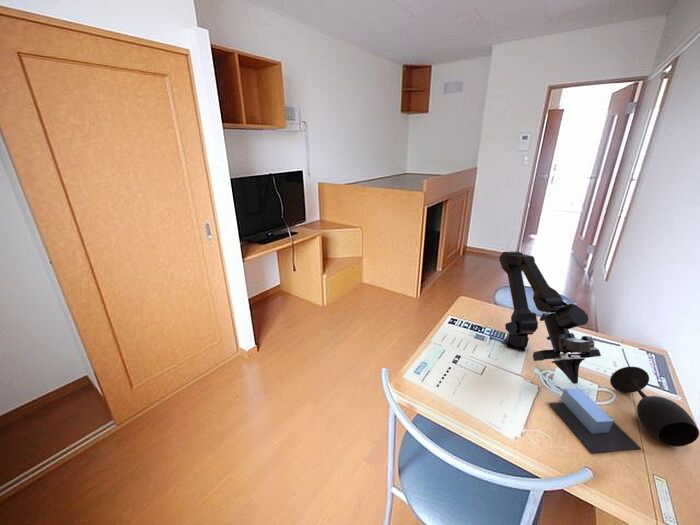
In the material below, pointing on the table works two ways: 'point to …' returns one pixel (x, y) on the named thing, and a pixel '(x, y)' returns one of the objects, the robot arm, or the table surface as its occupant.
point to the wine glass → (656, 409)
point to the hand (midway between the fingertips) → (575, 383)
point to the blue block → (586, 410)
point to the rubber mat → (597, 441)
